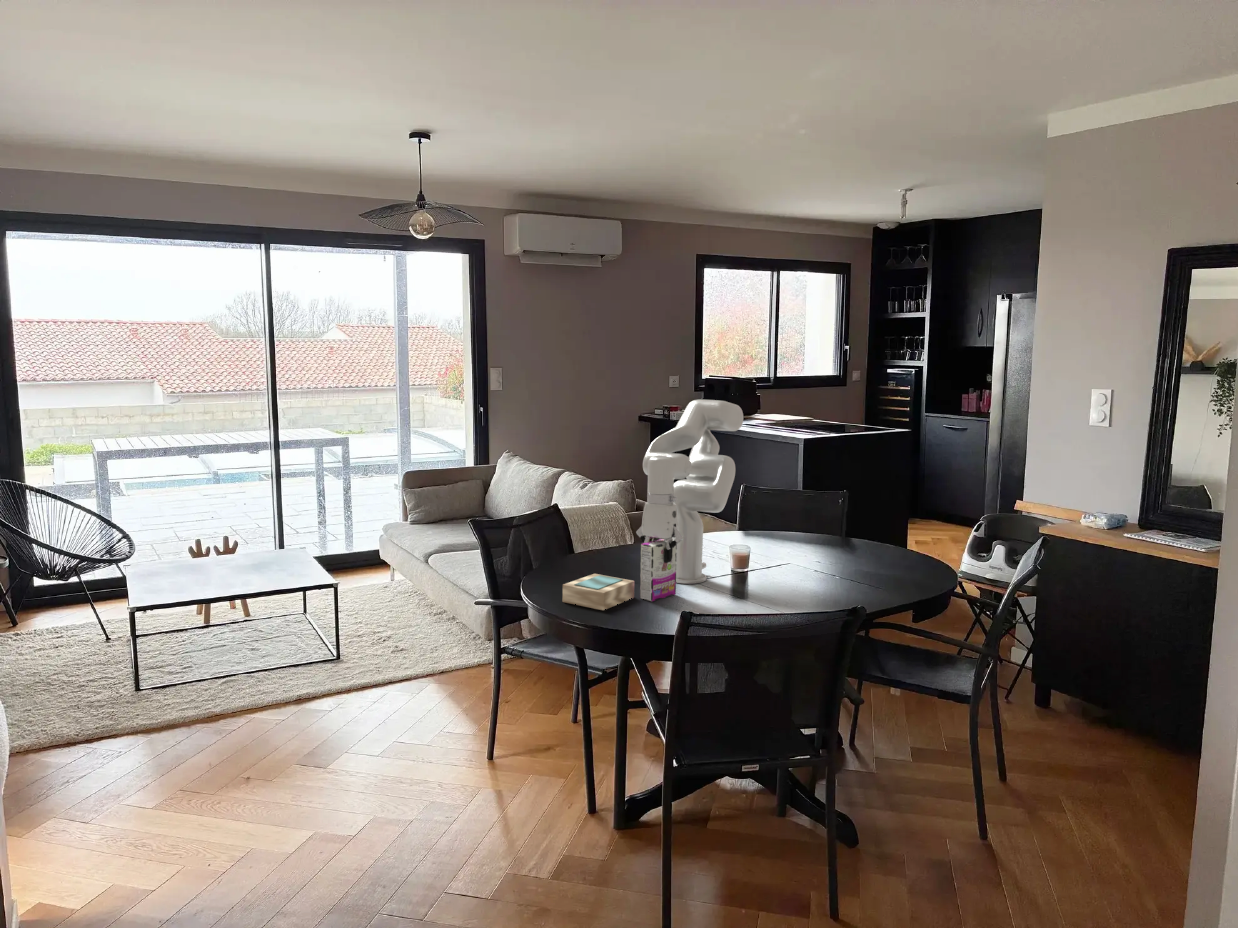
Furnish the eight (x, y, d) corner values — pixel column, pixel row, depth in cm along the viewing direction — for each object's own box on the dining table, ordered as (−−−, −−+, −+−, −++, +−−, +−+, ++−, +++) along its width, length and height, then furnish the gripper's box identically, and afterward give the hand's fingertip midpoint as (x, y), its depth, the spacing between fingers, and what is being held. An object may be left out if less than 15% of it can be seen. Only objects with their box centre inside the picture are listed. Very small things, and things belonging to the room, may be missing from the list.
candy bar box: (663, 591, 275) (664, 537, 273) (676, 594, 272) (678, 540, 269) (638, 598, 267) (640, 543, 264) (651, 602, 263) (653, 546, 261)
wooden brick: (594, 589, 275) (594, 572, 274) (634, 597, 268) (634, 579, 267) (562, 601, 262) (562, 583, 261) (603, 610, 254) (603, 591, 254)
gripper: (692, 500, 264) (690, 562, 266) (641, 494, 273) (640, 554, 275) (680, 504, 258) (678, 567, 260) (628, 497, 267) (626, 558, 269)
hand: (658, 559), depth 268 cm, fingers closed on candy bar box, 5 cm apart
